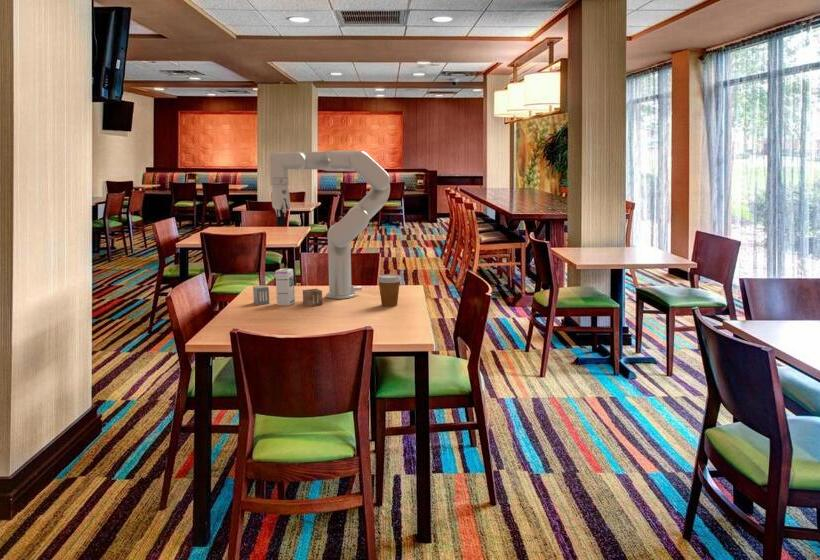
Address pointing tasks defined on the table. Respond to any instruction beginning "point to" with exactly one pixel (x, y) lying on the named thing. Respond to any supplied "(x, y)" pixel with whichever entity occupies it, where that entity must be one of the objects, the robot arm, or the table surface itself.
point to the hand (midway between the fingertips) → (281, 225)
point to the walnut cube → (312, 297)
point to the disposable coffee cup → (389, 289)
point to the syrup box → (285, 287)
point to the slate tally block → (261, 295)
